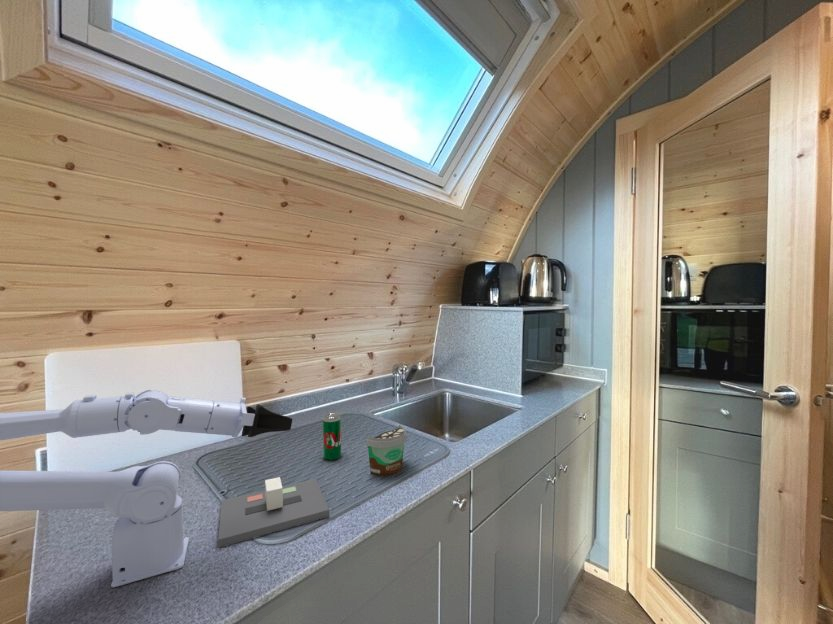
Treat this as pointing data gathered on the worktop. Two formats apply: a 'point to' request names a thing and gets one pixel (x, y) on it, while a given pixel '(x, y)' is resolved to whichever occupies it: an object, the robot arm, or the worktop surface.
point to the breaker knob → (273, 493)
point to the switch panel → (270, 512)
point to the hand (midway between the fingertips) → (286, 424)
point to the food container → (386, 452)
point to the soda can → (331, 436)
